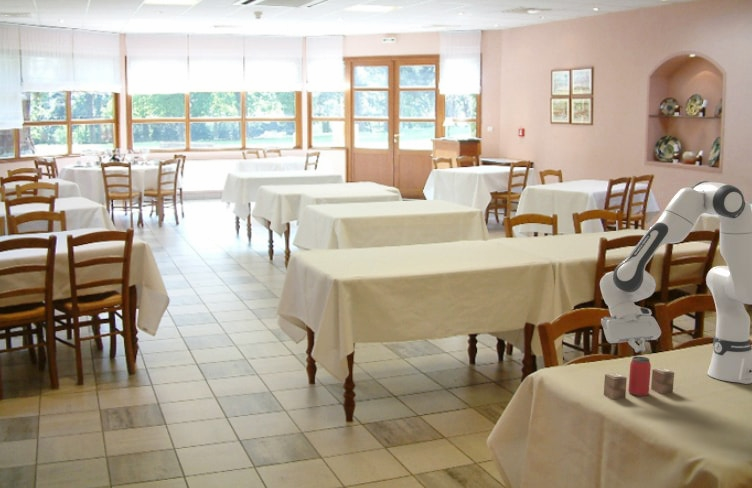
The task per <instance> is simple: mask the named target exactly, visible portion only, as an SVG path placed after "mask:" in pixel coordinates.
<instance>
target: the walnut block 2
mask: <svg viewBox="0 0 752 488" xmlns="http://www.w3.org/2000/svg"><path fill="white" fill-rule="evenodd" d="M674 381H675V372H674V371H672V370H670V369H667V368H666V367H663V368H662V367H661V368H654V369H651V383H650V384H651V386H650V389H651V390H652V391H654V392H656V393H658V394H659V395H662V393H663V394H670V393H673V392H674Z"/></svg>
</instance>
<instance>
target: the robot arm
mask: <svg viewBox="0 0 752 488" xmlns="http://www.w3.org/2000/svg"><path fill="white" fill-rule="evenodd" d="M704 213H706V214H709V215H712V216H714V215H715V216H718V219H719V253H720V255H721V256H722V258H723V259H724V261H725V263H726V265H716V266H714V267H712V268H710V270H708V272H707V274H706V277H705V281H706V282H705V283H706V286H707V288H708V289H709V290H710V293H711V296H712V298H713V301H714V304H715V310H716V311H715V312H716V325H715V326H716V327H715V335H714V336H713V343H712V344H713V345H712V346H713V349H712V350H713V351H712V355H711V360H710V363H709V367H708V370H707V375H708V376H709V377H711V378H714V379H716V380H719V381H720V380H721V381H724V382H725V381H726V382H731V383H732V382H733V383H738V384H739V383H740V384H744V385H745V384H746V385H748V384H752V339H750V329H751V328H750V327H751V317H750V314H749V313H748V311H747V310H746V308H745V305H746V304H747V305H752V206H751V204H750V203H749V202H748V201H747V200H745V198H744V195H743V191H741V190H740V189H739V188H738V187H736V186H734V185H731V184H726V183H723V182H718V181H717V182H713V181H712V182H711V181H706V180H705V181H699V182H697V183H695V184H693V185H692V186H691V187H682V188H681V189H679V190H678V191H677V192H676V193H675V195H674V196H673V197H672V198H671V200H670V201H669V202H668V204H667V205H666V207H665V208H664V210H663V211H662V213H661V214H660V216H659V218H658V219H657V220H656V221H655V222H654V223H653V225H652V226H650V228H649V229H648V230H647V231H646V232H645V233H644V235H643V236H642V237H641V239H640V240H639V242H638V243H637V244H636V245H635V247H634V248H633V249H632V251H631V252H630V254H629V255H628V256H627V257H626V258H624V260H623V261H621V262H620V263H619V264H617V266H616V267H615V268H614V271H613V270H612V271H609V272H607V273H605V274H604V275H603V276H602V277H601V279H600V281H599V287H600V292H601V295H602V296H601V297H603V300H604V303H605V305H606V306H608V312H609V314H610V316H604V317H602V318H601V319H600V324H601V326H602V328H603V332H604V333H603V334H604V336H605V339H606V342H608V343H609V344H617V343H619V344H620V343H628V345H629V346H630V347H631V348H632V349H634V352H635V353H644V352H646V347H645V341H654V340H658V338H660V336H661V334H662V330H661V328H660V326H659V324H658V322H657V320H656V319H655V317H654V316H652V314H653V313H652V310H651V309H650V308H647V307H642V306H639V305H636V304H635V303H637V302H640V301H643V300H646V299H648V298H650V297H651V296H652V295H653V294H654V293H655V291H656V288H657V282H656V279H655V278H654V277H653V275H651V273H649V272H648V271H647V270H646V266H647V264H648V263H649V262H650V261H651V259H652V257H653V256H654V255H655V253H656V252H657V251H658V250H659V248H661V247H662V246H664V245H667V244H677V243H681V242H683V241H684V240H685V239H686V238H687V237H688V236H689V234H690V233H691V231H692V230H693V228H694V227H695V225H696V223H697V221H698V220H699V217H700V216H701V215H702V214H704ZM636 342H637V343H636ZM638 344H639V345H638Z"/></svg>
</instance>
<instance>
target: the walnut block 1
mask: <svg viewBox="0 0 752 488" xmlns="http://www.w3.org/2000/svg"><path fill="white" fill-rule="evenodd" d="M626 391H627V377H626V376H624V375H623V374H621V373H619V372H616V373H606V374H604V385H603V395H604V396H606V397H607V398H609V399H611V400H618V399H619V400H621V399H626V394H627V392H626Z"/></svg>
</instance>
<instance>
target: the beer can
mask: <svg viewBox="0 0 752 488" xmlns="http://www.w3.org/2000/svg"><path fill="white" fill-rule="evenodd" d="M629 365H630V366H629V378H628V389H627V390H628V392H629V394H630V395H634V396H639V397H644V396H647V395H649V394H650V384H651V383H650V382H651V381H650V380H651V370H652V369H651V368H652V367H651V362H650V358H648V357H645V356H633V357H632V358H631V361H630V364H629Z"/></svg>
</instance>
